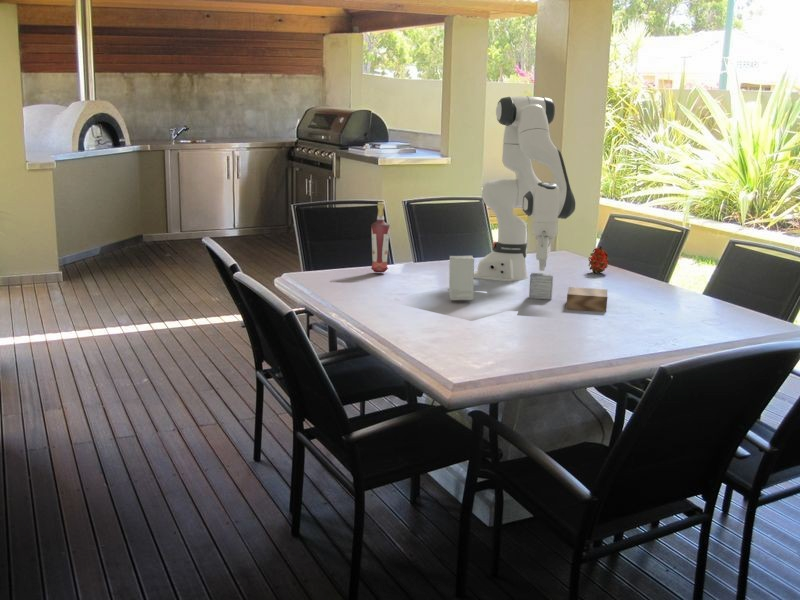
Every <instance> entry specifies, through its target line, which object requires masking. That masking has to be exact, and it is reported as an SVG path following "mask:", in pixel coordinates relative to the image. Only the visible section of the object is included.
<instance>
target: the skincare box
mask: <svg viewBox="0 0 800 600" xmlns="http://www.w3.org/2000/svg"><path fill="white" fill-rule="evenodd" d="M448 265H449V277H448V278H449V279H448V280H449V285H448V287H449V289H448V291H449V293H448V294H449V295H448V296H449V298H450V300H451V301H455V300H457V301H459V300H464V301H465V300H466V301H467V300H468V301H469V300H471V301H472V300H474V287H475V285H474V284H475V283H474V281H475V280H474V279H475V278H474V271H475V258H474V257H473V255H449V264H448Z"/></svg>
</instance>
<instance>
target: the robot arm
mask: <svg viewBox="0 0 800 600" xmlns="http://www.w3.org/2000/svg"><path fill="white" fill-rule="evenodd" d="M555 114H556V107H555V103H554V101H553V100H552V99H551V98H549V97H544V96H542V97H538V96H531V95H530V96H528V95H525V96H513V97H511V96H506V97H501V98H500V99H499V100H498V102H497V106H496V109H495V115H496V120H497V122H498V123H499V124H500V125H503V126H504V133H503V140H502V157H501V161H502V164H503V166H504V167H505V168H507V169H508V170H509V171H512V172H513V173H514V174H515V176H516V177H515V179H503V178H502V179H493V180H489V181H487V182H486V183H484V185H483V187H482V188H481V198H482V201H483V202H484V204H485V205H486V206H488V208H489V209H490V210H491V211H492V212H493V214H494V215H495V218H496V221H497V230H498V231H497V236H498V237H497V241H496V240H495V241H493V243H492V251H491V252H489V253H488V254H486V255H485V256H484V257H483V258H481V259H480V260H479V262H478V264H477V268H476V270H474V279H483V280H493V281H502V282H514V281H523V280H526V279H529V275H528V270H527V261H526V260H527V254H528V243H527V231H528V226H527V223H526V221H525V220H524V219H522V217H519V216H517V215H515V214H514V209H515V208H516V209H517V208H518V209H519V208H520V209H521V208H522V211H523V212H524V214H526V216H527V217H531V218H532V226H531V227H532V228H531V235H534V236H535V238H534V240H536V250H535V251H536V253H535V258H536V261H538V264H539V266H538V269H539V271H540V272H544V271H545V269H546V267H547V260H548V257H549V254H550V253H551V250H552V245H553V241H554V239H555V237H556V236H558V232H559V219H561V220H563V219H564V220H566V219H568V218H569V217H570V216H571V215H572V214H573V213H574V212H576V211H575V210H576V199H575V196H574V194H573V190H572V188H571V185H570V180H569V177H568V173H567V170H566V165H565V161H564V158H563V154H562V152H561V150H560V148H558V147H556V146H555V144H554V143H553V141H552V139H551V135H550V126H549V125H550V124H551V123H552V122H553V121H554V118H555ZM532 161H535V162H537V163H539V164H542V165H544V166H546V167H547V168H548V169H549V170H550V171H551V173H552V176H553V181H554V182H550V181H549V182H548V181H542V180H540V179H539V178H538V176H537V175H536V173H535V172H534V168H533V164H532Z"/></svg>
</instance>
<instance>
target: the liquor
mask: <svg viewBox="0 0 800 600" xmlns="http://www.w3.org/2000/svg"><path fill="white" fill-rule="evenodd" d="M376 207H377V217H376V221H374V222H373V223H371V227H370V228H371V260H372V261H371V262H372V263H371V268H370V269H371V270H372V271H373V272H375V273H385V272H386V271H387V270H389V268H388V253H389V252H388V251H389V240H390V239H389V238H390V224H389V223H388V222H386V221H385V215H384V209H385V202H384V201H377V205H376Z"/></svg>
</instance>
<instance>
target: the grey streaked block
mask: <svg viewBox="0 0 800 600" xmlns="http://www.w3.org/2000/svg"><path fill="white" fill-rule="evenodd" d="M553 285H554V274H553V273H543V272H531V273H530V275H529V289H528V291H529V292H528V299H532V300H533V299H536V300H550V301H551V300H552V299H553Z"/></svg>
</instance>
